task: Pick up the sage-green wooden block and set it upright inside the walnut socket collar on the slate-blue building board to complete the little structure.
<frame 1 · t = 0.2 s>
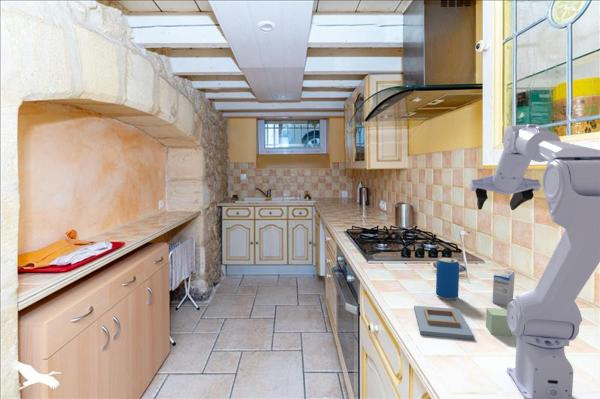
hand: (495, 206, 89), 30 cm above the worktop, tool tilted 45°, fingers open, 7 cm apart
medicine box: (502, 301, 105), on the worktop
building board: (440, 322, 90), on the worktop
sage block: (498, 331, 86), on the worktop
beverage can: (446, 297, 109), on the worktop
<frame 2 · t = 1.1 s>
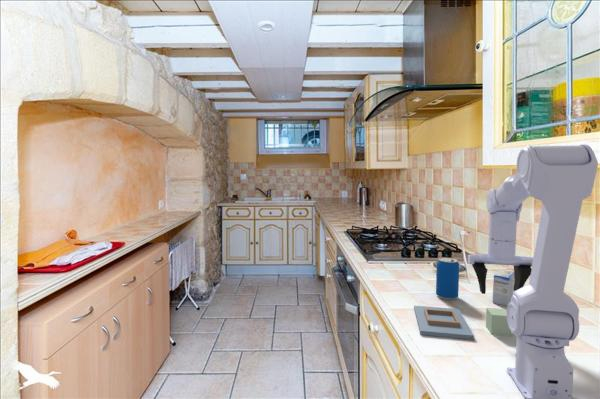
hand: (499, 293, 85), 10 cm above the worktop, tool pointing down, fingers open, 7 cm apart
nothing on the worktop moved.
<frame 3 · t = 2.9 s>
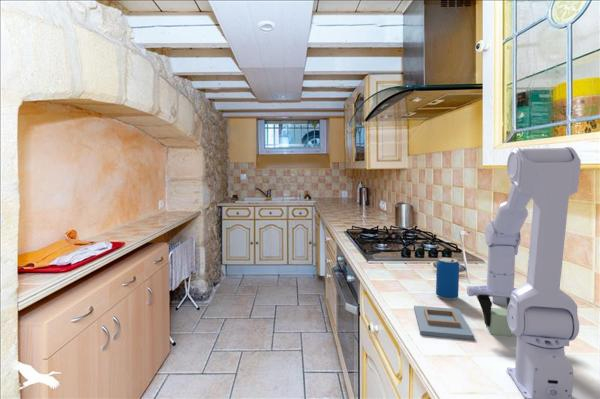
hand: (498, 325, 85), 1 cm above the worktop, tool pointing down, fingers closed on sage block, 4 cm apart
sage block: (498, 331, 86), on the worktop, touching gripper
everything else where it was.
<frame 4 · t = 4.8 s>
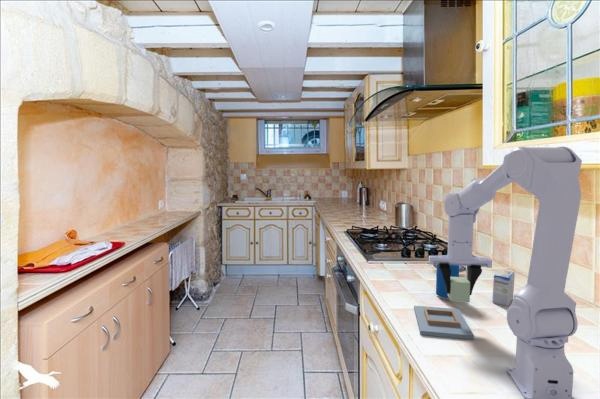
hand: (458, 293, 88), 8 cm above the worktop, tool pointing down, fingers closed on sage block, 4 cm apart
sage block: (458, 298, 89), point 7 cm above the worktop, touching gripper
everything else where it was.
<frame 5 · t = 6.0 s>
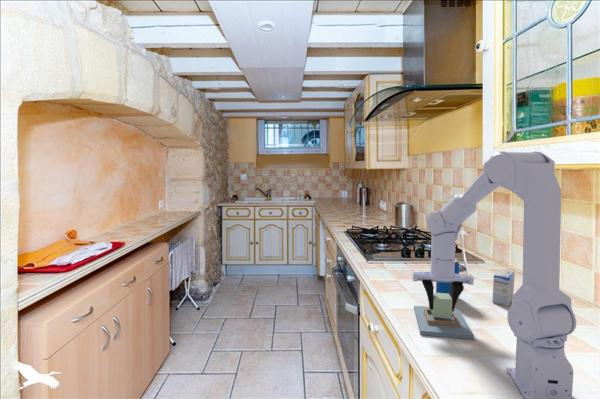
hand: (441, 309, 90), 4 cm above the worktop, tool pointing down, fingers closed on sage block, 4 cm apart
sage block: (441, 314, 90), point 2 cm above the worktop, touching gripper
everything else where it was.
when the fingers open (4 cm above the worktop, at t = 6.8 s): sage block drops 1 cm, resting on building board.
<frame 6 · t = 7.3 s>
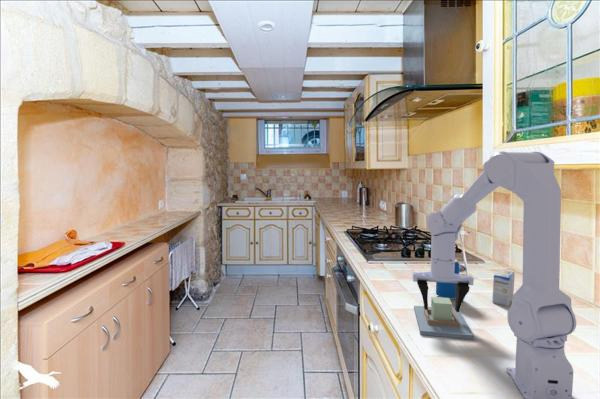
hand: (441, 309, 90), 4 cm above the worktop, tool pointing down, fingers open, 7 cm apart
sage block: (441, 318, 90), point 1 cm above the worktop, touching building board
everything else where it was.
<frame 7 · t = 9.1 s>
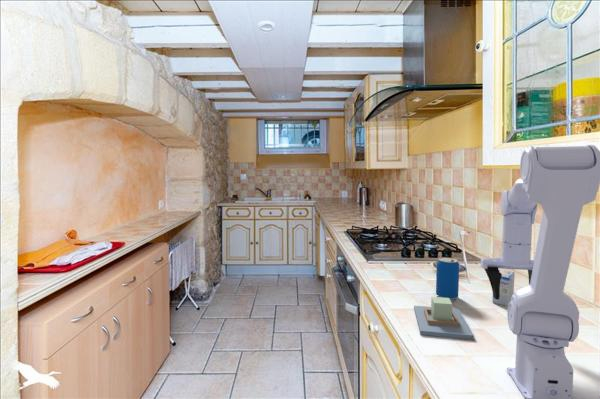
hand: (513, 299, 82), 9 cm above the worktop, tool pointing down, fingers open, 7 cm apart
nothing on the worktop moved.
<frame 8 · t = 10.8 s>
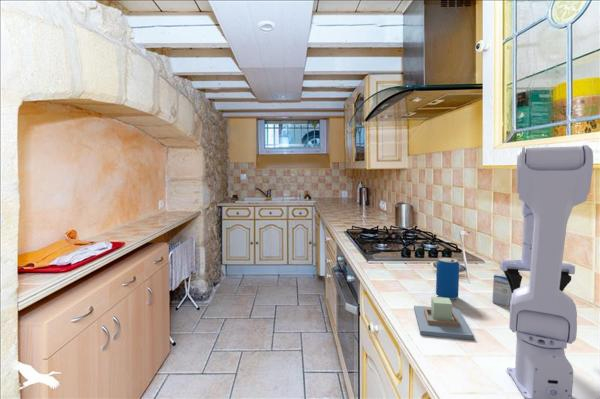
hand: (534, 302, 80), 9 cm above the worktop, tool pointing down, fingers open, 7 cm apart
nothing on the worktop moved.
at the end: sage block 0.1 cm off-centre on the building board, point 1.0 cm above the building board's base; sage block tilted 0°; the gripper is holding nothing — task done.
